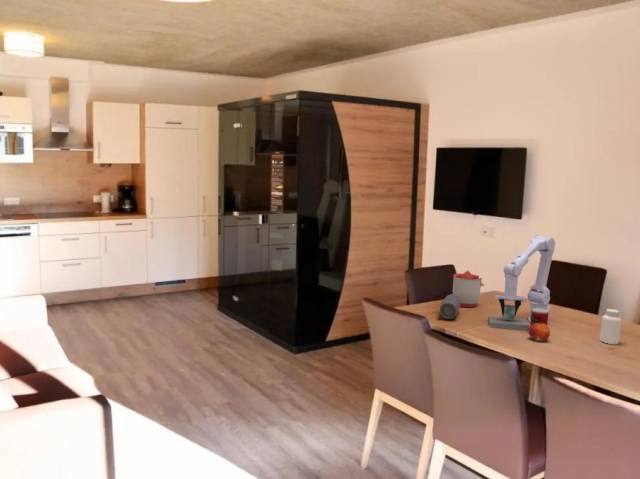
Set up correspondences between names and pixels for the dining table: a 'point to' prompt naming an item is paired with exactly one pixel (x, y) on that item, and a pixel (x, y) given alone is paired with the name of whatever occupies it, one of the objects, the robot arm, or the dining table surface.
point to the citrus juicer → (467, 288)
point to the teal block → (509, 312)
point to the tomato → (539, 331)
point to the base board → (508, 323)
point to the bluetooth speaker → (450, 306)
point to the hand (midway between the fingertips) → (508, 314)
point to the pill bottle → (610, 327)
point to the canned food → (539, 316)
